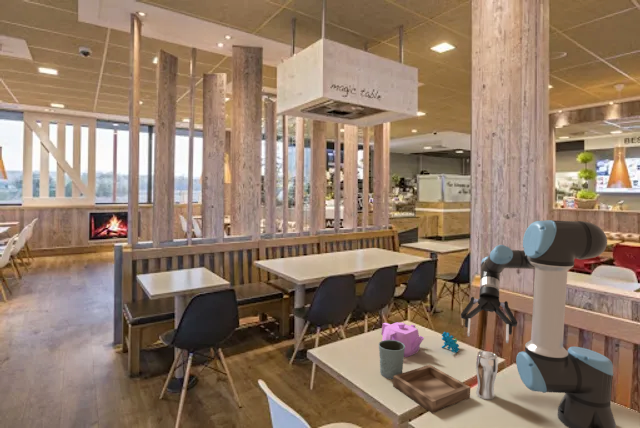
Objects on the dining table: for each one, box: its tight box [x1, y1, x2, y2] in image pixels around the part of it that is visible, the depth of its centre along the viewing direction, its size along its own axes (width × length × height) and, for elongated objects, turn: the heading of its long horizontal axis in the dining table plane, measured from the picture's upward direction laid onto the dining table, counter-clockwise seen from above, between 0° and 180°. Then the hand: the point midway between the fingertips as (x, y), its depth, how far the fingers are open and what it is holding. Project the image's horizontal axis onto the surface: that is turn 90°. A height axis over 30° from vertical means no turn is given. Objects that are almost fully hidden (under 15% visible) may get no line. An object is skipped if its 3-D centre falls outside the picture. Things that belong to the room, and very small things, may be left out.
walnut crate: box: [392, 364, 471, 414], centre depth 135 cm, size 19×19×4 cm
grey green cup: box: [378, 340, 405, 380], centre depth 147 cm, size 10×10×12 cm
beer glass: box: [475, 350, 499, 401], centre depth 133 cm, size 7×7×15 cm
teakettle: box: [380, 321, 425, 358], centre depth 170 cm, size 17×17×12 cm
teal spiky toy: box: [441, 331, 460, 354], centre depth 172 cm, size 11×6×10 cm
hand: (487, 338), depth 142 cm, fingers open, 13 cm apart
